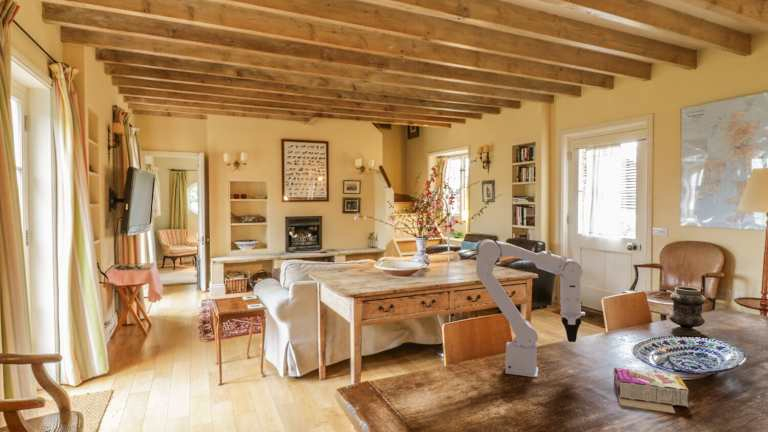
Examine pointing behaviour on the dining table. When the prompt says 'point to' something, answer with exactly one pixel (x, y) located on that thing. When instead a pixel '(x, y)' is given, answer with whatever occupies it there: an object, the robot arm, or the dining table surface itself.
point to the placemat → (646, 405)
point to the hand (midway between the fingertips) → (571, 341)
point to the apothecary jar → (687, 310)
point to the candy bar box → (651, 387)
